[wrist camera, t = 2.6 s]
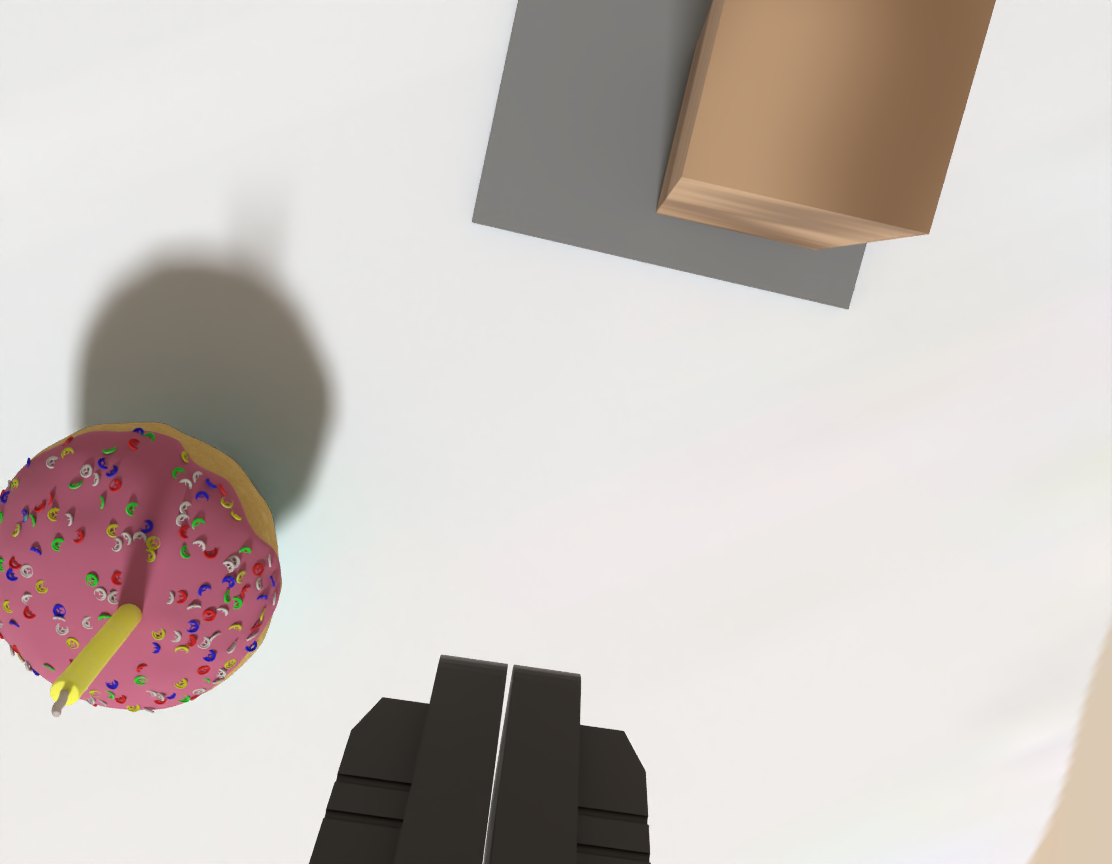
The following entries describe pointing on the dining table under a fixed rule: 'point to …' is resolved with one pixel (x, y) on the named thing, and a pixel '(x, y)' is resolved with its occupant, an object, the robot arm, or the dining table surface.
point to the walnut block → (823, 117)
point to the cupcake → (135, 567)
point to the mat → (621, 148)
